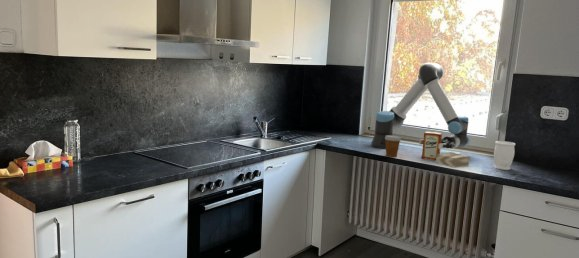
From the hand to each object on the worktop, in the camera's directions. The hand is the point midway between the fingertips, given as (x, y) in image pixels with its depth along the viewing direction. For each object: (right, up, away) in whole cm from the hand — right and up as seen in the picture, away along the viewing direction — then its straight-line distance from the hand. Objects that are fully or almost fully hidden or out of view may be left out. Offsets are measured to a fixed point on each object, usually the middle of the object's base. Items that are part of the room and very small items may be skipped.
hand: (429, 144), depth 269 cm
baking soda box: (+2, -9, +3) cm, 10 cm away
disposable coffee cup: (-22, -7, +5) cm, 23 cm away
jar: (+37, -13, -14) cm, 42 cm away
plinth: (+10, -11, -9) cm, 18 cm away
